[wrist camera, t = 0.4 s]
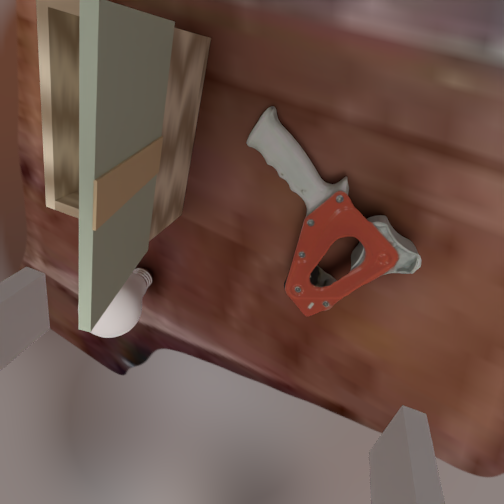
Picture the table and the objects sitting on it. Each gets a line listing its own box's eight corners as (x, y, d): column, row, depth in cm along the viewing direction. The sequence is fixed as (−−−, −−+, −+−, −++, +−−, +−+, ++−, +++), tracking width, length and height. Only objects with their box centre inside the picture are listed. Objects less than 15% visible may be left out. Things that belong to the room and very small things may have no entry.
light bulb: (113, 262, 46) (52, 310, 37) (148, 243, 43) (92, 289, 34) (143, 301, 48) (92, 357, 39) (179, 285, 45) (133, 341, 36)
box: (102, 5, 33) (35, -13, 26) (211, 38, 32) (171, 27, 25) (96, 184, 42) (46, 206, 35) (181, 214, 40) (146, 243, 34)
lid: (79, -8, 14) (102, -1, 14) (163, 18, 24) (177, 22, 24) (78, 329, 23) (92, 332, 23) (139, 247, 33) (149, 250, 33)
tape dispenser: (258, 104, 35) (246, 280, 43) (241, 104, 30) (231, 301, 38) (450, 119, 31) (396, 311, 39) (465, 122, 26) (401, 339, 34)
